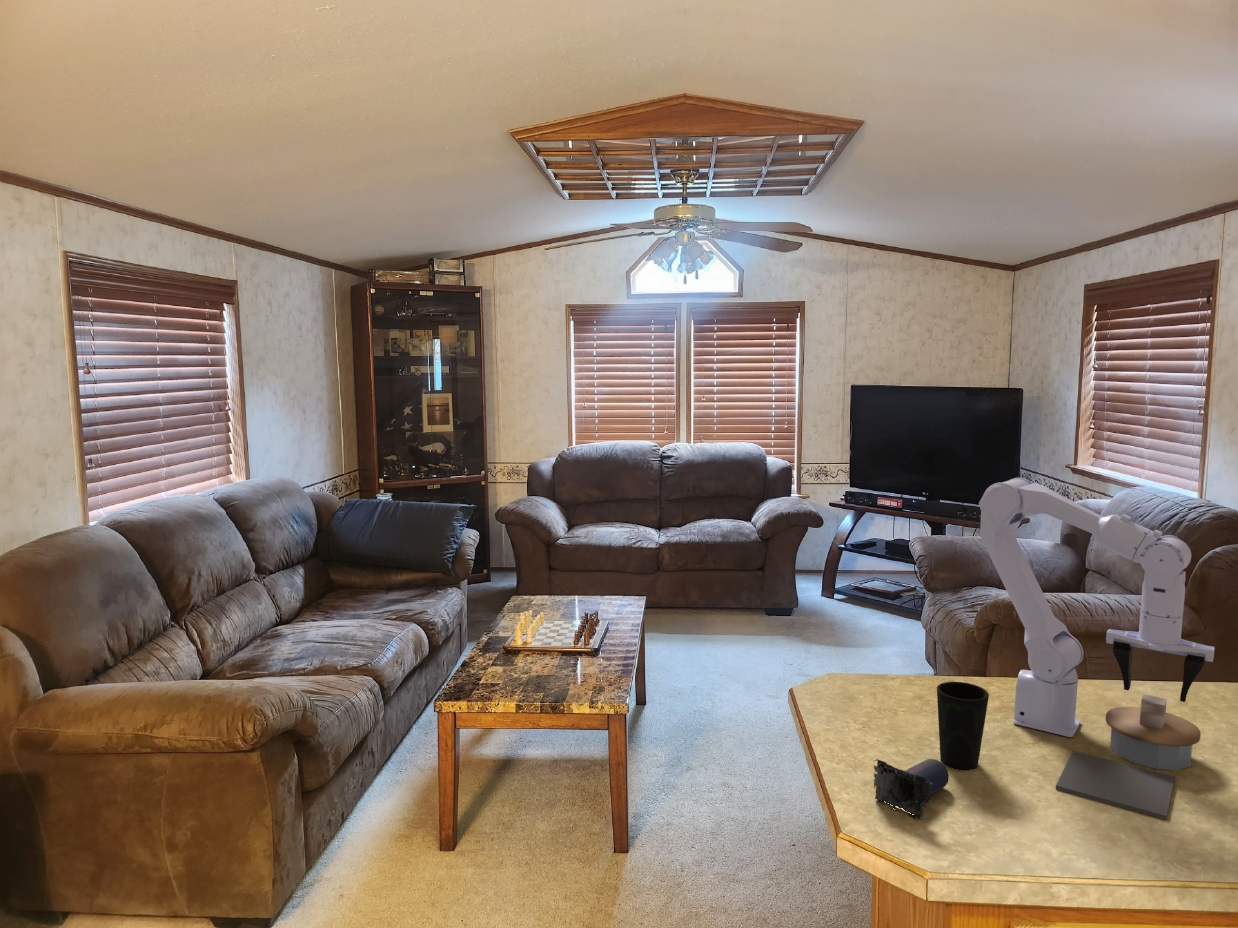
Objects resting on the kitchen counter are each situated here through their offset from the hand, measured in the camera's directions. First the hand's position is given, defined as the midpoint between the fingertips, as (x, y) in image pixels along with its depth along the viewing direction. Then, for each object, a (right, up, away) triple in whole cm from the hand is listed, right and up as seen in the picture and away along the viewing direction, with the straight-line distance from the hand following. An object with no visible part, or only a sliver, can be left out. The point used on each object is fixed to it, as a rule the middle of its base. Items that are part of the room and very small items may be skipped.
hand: (1154, 693), depth 136 cm
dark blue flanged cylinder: (-43, -12, -12) cm, 46 cm away
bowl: (0, -10, +1) cm, 10 cm away
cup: (-32, -11, -2) cm, 34 cm away
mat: (-11, -11, -9) cm, 18 cm away
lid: (0, -6, 0) cm, 6 cm away
